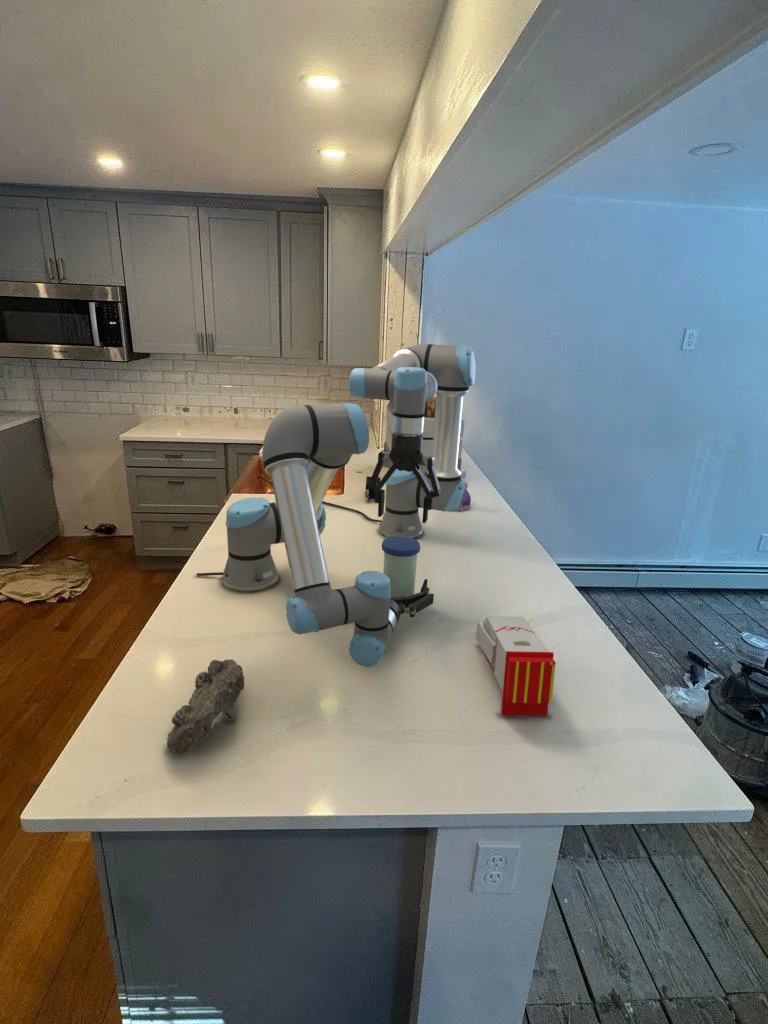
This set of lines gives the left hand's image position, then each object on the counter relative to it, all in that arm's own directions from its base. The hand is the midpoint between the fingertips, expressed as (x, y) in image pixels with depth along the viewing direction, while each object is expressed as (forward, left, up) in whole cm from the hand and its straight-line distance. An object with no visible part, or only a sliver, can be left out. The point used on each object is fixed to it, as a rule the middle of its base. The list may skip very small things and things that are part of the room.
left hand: (401, 579), depth 153 cm
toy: (+30, -26, -6) cm, 40 cm away
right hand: (0, -2, +18) cm, 19 cm away
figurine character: (-30, +82, -6) cm, 87 cm away
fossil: (-24, -57, -6) cm, 62 cm away
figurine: (+7, +83, -6) cm, 83 cm away
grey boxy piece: (-18, +127, -6) cm, 128 cm away
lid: (0, -2, +11) cm, 11 cm away
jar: (0, -2, -6) cm, 6 cm away
